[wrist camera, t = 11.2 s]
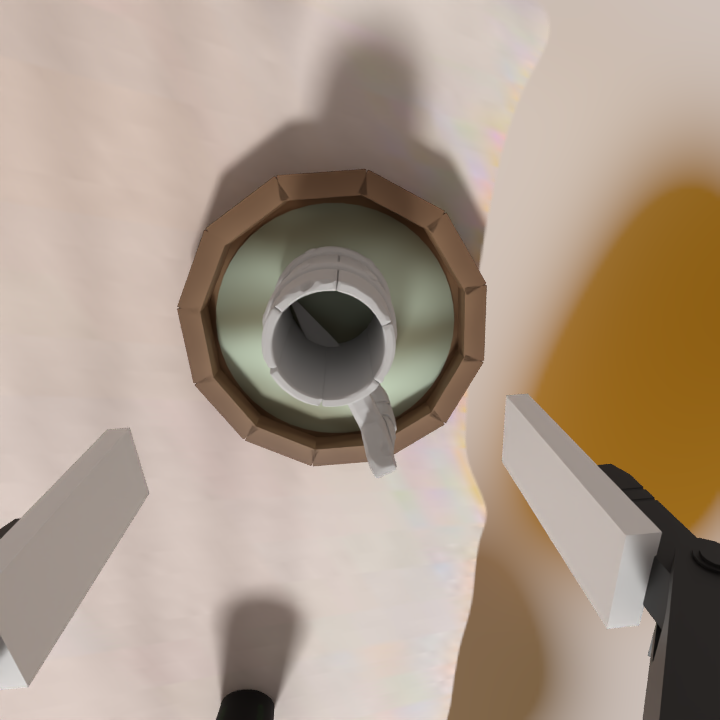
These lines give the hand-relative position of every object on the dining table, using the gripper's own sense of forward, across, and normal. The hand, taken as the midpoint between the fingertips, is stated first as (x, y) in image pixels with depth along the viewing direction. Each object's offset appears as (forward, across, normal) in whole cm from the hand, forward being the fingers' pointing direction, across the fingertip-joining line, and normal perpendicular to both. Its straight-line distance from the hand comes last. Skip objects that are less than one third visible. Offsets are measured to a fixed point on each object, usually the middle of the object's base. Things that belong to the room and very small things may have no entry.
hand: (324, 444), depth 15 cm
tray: (+17, 0, -1) cm, 17 cm away
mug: (+16, +1, 0) cm, 16 cm away
